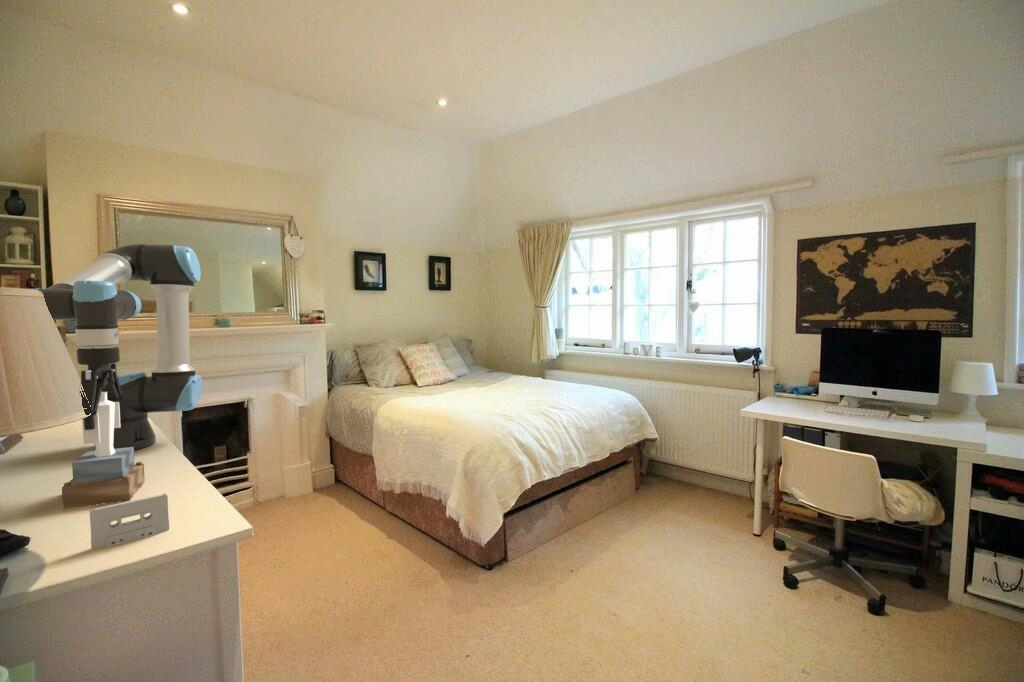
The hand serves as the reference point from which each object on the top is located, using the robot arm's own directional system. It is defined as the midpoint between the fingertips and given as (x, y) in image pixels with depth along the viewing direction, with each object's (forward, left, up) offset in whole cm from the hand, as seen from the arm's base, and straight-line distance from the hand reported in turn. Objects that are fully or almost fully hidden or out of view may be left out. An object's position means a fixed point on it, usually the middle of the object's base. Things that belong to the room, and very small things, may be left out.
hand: (103, 435), depth 112 cm
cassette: (+28, +12, -15) cm, 34 cm away
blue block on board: (0, 0, -15) cm, 15 cm away
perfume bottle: (0, 0, -5) cm, 5 cm away
